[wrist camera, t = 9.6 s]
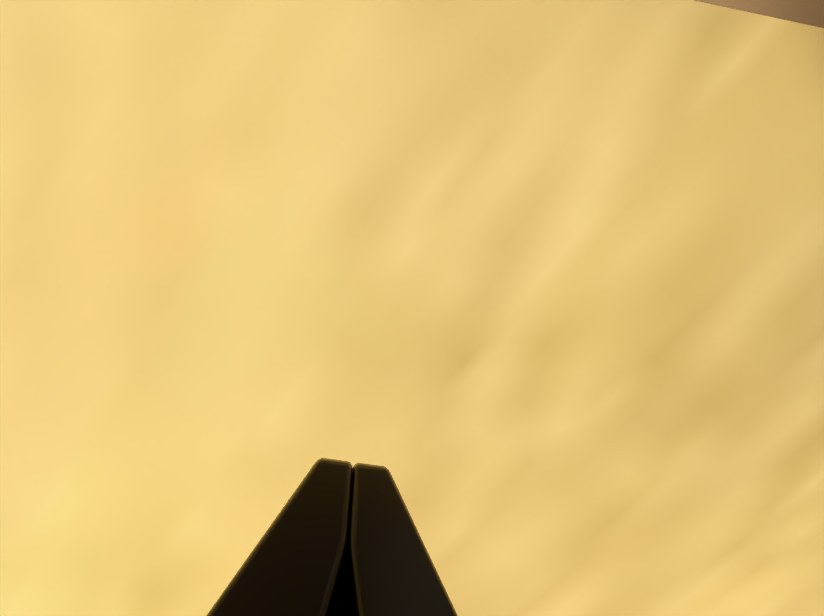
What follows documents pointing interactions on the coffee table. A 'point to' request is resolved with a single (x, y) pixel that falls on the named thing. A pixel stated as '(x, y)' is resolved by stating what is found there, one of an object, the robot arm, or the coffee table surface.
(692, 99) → the coffee table surface
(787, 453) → the coffee table surface
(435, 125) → the coffee table surface
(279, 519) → the robot arm
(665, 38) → the coffee table surface
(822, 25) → the button panel
